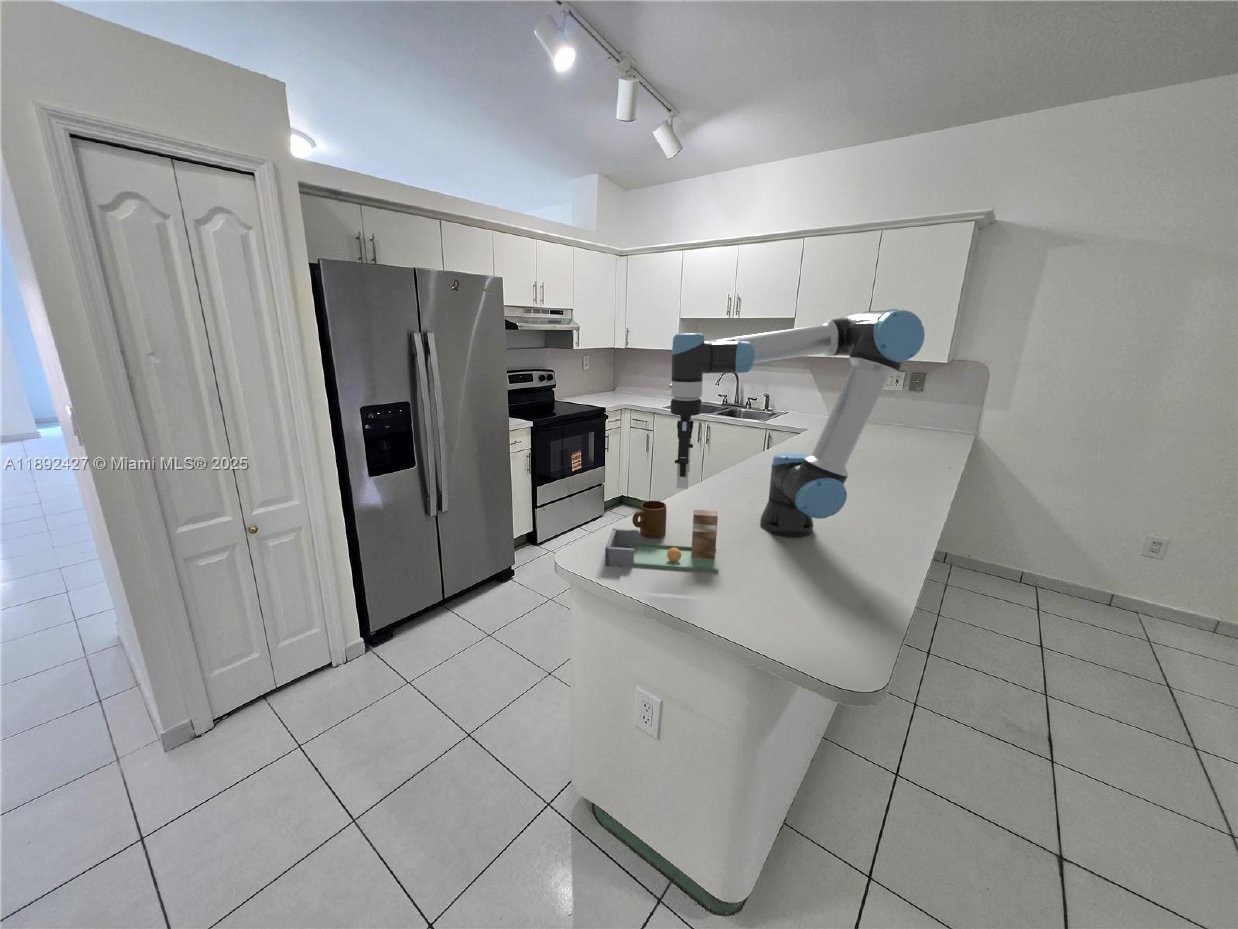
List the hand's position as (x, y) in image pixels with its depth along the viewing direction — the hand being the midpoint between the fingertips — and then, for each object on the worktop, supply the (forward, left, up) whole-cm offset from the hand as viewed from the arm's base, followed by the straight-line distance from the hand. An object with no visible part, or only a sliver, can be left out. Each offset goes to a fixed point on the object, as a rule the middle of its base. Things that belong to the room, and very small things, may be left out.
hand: (683, 479), depth 120 cm
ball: (+2, +7, -18) cm, 19 cm away
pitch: (+5, +6, -20) cm, 22 cm away
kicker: (-6, +3, -20) cm, 21 cm away
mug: (+10, -7, -21) cm, 24 cm away
